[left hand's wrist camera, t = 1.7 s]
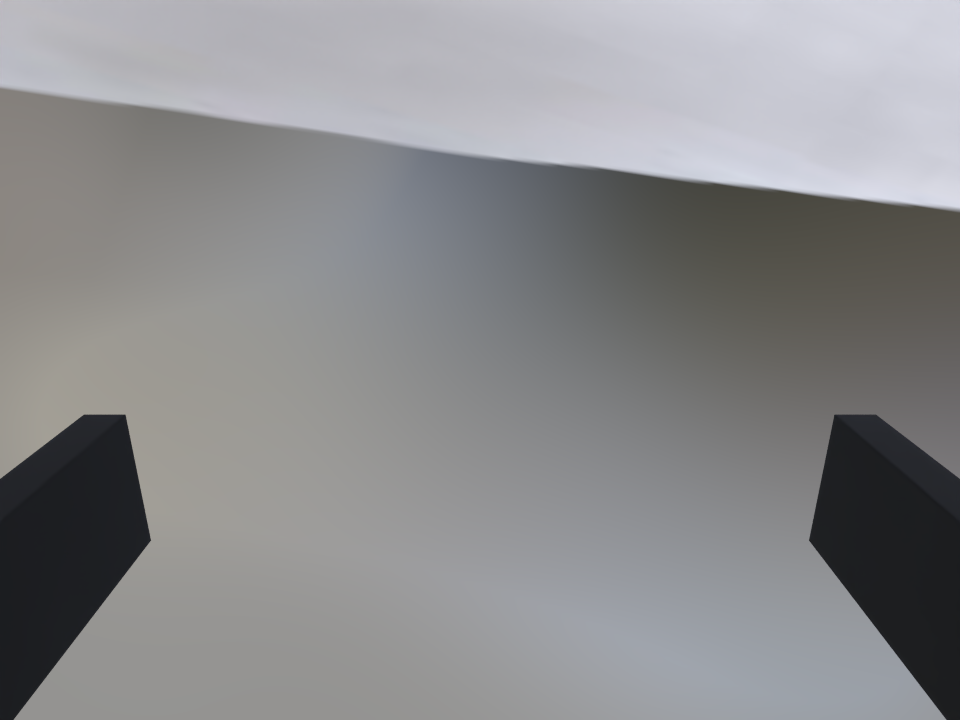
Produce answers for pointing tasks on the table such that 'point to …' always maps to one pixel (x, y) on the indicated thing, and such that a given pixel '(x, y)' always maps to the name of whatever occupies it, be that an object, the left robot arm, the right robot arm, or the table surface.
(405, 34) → the table surface
